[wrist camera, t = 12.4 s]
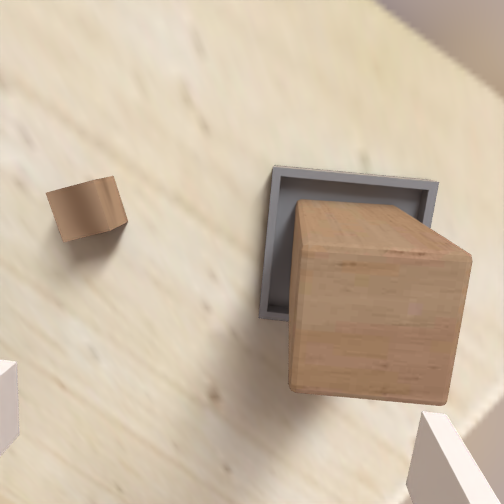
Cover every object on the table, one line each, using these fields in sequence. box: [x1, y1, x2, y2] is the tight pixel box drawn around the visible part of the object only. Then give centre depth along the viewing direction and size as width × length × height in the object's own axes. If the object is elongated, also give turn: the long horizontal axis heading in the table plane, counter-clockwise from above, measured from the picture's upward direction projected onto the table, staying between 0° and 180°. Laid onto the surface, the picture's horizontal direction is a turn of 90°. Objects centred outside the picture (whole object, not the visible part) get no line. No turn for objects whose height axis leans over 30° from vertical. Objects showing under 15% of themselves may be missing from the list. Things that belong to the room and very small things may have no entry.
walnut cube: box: [46, 176, 128, 242], centre depth 46 cm, size 5×5×5 cm
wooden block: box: [288, 199, 472, 406], centre depth 37 cm, size 10×10×20 cm
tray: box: [259, 165, 439, 321], centre depth 46 cm, size 16×16×2 cm
